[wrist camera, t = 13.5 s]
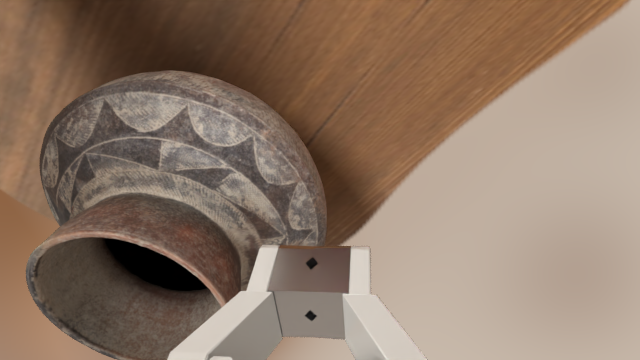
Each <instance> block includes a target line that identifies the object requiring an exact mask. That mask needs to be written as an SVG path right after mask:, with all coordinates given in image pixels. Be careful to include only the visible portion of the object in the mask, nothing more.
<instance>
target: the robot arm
mask: <svg viewBox="0 0 640 360" xmlns="http://www.w3.org/2000/svg"><path fill="white" fill-rule="evenodd" d="M282 337H318V338H332V339H345V341H346V343H347V345H348V346H349V348H350V350H351V352H352V354H353V356H354V358H355V360H428V359H427V358H426V357H425V356H424V354H423V353H422V352H421V350H420V349H419V348H418V347H417V345H416V344H415V343H414V342H413V340H412V339H411V338H410V337H409V335H408V334H407V333H406V331H405V330H404V329H403V328H402V326H401V325H400V324H399V323H398V321H397V320H396V319H395V317H394V316H393V315H392V314H391V312H390V311H389V310H388V308H387V307H386V306H385V305H384V303H383V302H382V301H381V300H380V298H379V297H378V296H377V295H371V258H370V247H369V246H352V247H351V246H295V245H262V246H261V248H260V249H259V252H258V255H257V258H256V262H255V265H254V268H253V271H252V274H251V277H250V281H249V284H248V287H247V290H246V291H240V292H239V293H238V294H237V295H236V296H234V297H233V298H232V299H231V300H230V301H229V302H228V303H226V304H225V305H224V306H223V307H222V308H221V309H219V310H218V311H217V312H216V313H215V314H214V315H213V316H211V317H210V318H209V319H208V320H207V321H206V322H205V323H203V324H202V325H201V326H200V327H199V328H198V329H196V330H195V331H194V332H193V333H192V334H191V335H190V336H188V337H187V338H186V339H185V340H184V341H183V342H181V343H180V344H179V345H178V346H177V347H176V348H175V349H173V350H172V351H171V352H170V354H169V356H168V359H167V360H266V359H267V358H268V357H269V355H270V354H271V353H272V351H273V350H274V349H275V348H276V346H277V345H278V344H279V343H280V341H281V340H282Z"/></svg>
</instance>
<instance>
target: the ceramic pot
mask: <svg viewBox="0 0 640 360" xmlns="http://www.w3.org/2000/svg"><path fill="white" fill-rule="evenodd" d="M40 175H41V181H42V185H43V189H44V192H45V195H46V198H47V201H48V204H49V206H50V209H51V211H52V213H53V215H54V217H55V219H56V221H57V222H58V224H59V225H60V227H59V228H58V229H57V230H56V231H55V232H54V233H53V234H52V235H51V236H50V237H48V238H47V239H46V240H45V241H44V242H43V243H42V244H41V245H40V246H39V247H37V248H36V249H35V250H34V251H33V253H32V254H31V255H30V257H29V260H28V263H27V267H26V281H27V285H28V289H29V291H30V293H31V296H32V297H33V300H34V301H35V303H36V304H37V306H38V307H39V309H40V310H41V311H42V313H43V314H44V315H45V316H46V317H47V318H48V319H49V320H50V321H51V322H52V323H53V324H54V325H55V326H57V327H58V328H59V329H60V330H61V331H63V332H64V333H66V334H67V335H69V336H70V337H72V338H73V339H75V340H77V341H78V342H80V343H82V344H84V345H86V346H88V347H89V348H91V349H93V350H95V351H97V352H99V353H101V354H103V355H106V356H109V357H111V358H114V359H117V360H167V359H168V356H169V354H170V352H171V351H172V350H173V349H175V348H176V347H177V346H178V345H179V344H180V343H181V342H183V341H184V340H185V339H186V338H187V337H188V336H190V335H191V334H192V333H193V332H194V331H195V330H196V329H198V328H199V327H200V326H201V325H202V324H203V323H205V322H206V321H207V320H208V319H209V318H210V317H211V316H213V315H214V314H215V313H216V312H217V311H218V310H219V309H221V308H222V307H223V306H224V305H225V304H226V303H228V302H229V301H230V300H231V299H232V298H233V297H234V296H236V295H237V294H238V293H239V292H240V291H246V290H247V287H248V284H249V281H250V277H251V274H252V271H253V268H254V265H255V262H256V258H257V255H258V252H259V249H260V248H261V246H262V245H295V246H324V245H325V240H326V232H327V208H326V199H325V193H324V188H323V184H322V181H321V178H320V176H319V173H318V170H317V168H316V165H315V163H314V161H313V159H312V157H311V155H310V153H309V151H308V150H307V148H306V146H305V145H304V143H303V142H302V140H301V139H300V138H299V136H298V134H297V133H296V132H295V131H294V130H293V129H292V127H291V126H290V125H289V124H288V123H287V122H286V121H285V120H284V119H283V118H282V117H281V116H280V115H279V114H278V113H277V112H276V111H274V110H273V109H272V108H271V107H270V106H269V105H268V104H266V103H265V102H263V101H262V100H260V99H259V98H257V97H256V96H254V95H253V94H251V93H249V92H247V91H245V90H243V89H241V88H239V87H237V86H235V85H232V84H230V83H227V82H225V81H222V80H220V79H216V78H213V77H209V76H206V75H202V74H197V73H193V72H185V71H174V70H167V71H156V72H146V73H139V74H134V75H130V76H126V77H122V78H119V79H116V80H113V81H110V82H107V83H106V84H103V85H101V86H99V87H98V88H96V89H94V90H91V91H89V92H88V93H86V94H84V95H82V96H80V97H78V98H77V99H75V100H74V101H73V102H71V103H70V104H69V105H67V106H66V107H65V108H64V109H63V110H62V111H61V112H60V113H59V114H58V115H57V116H56V117H55V118H54V119H53V121H52V122H51V124H50V125H49V127H48V129H47V131H46V133H45V137H44V140H43V144H42V149H41V154H40Z"/></svg>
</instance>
